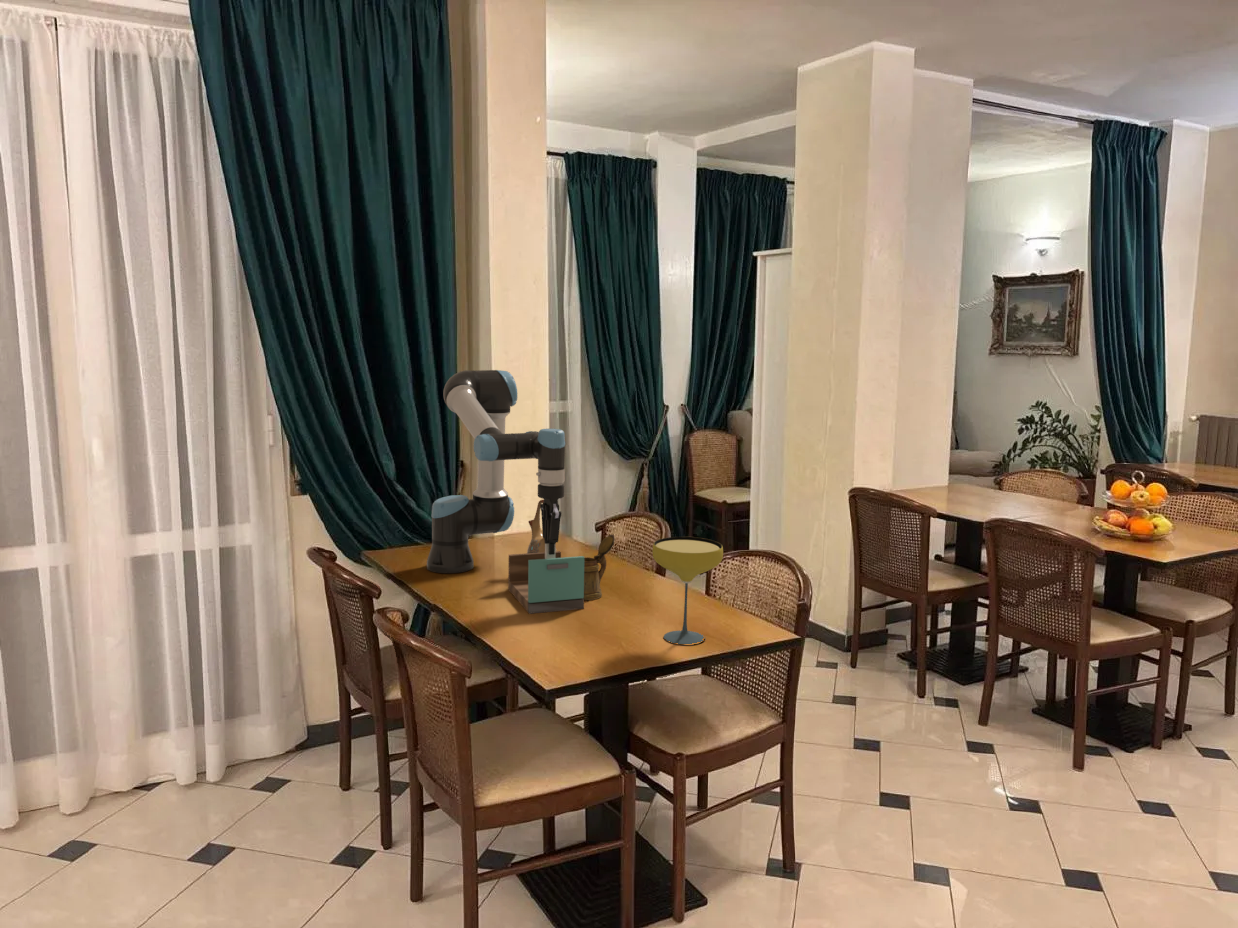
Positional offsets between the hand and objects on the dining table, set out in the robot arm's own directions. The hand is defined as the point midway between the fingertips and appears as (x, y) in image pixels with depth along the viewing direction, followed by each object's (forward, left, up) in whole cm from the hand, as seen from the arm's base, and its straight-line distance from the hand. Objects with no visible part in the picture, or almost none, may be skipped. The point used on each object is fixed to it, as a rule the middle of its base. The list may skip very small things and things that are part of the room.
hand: (550, 564), depth 260 cm
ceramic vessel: (-29, +6, -12) cm, 32 cm away
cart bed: (-6, 0, -12) cm, 13 cm away
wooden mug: (-5, +15, -12) cm, 20 cm away
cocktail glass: (+38, +25, -12) cm, 47 cm away
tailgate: (+7, 0, -9) cm, 11 cm away
